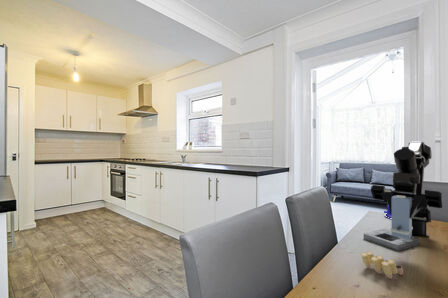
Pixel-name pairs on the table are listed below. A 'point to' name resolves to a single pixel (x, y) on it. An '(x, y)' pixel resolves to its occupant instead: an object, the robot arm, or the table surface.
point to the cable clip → (388, 212)
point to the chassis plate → (396, 242)
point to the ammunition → (381, 264)
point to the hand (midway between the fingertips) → (400, 216)
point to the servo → (401, 216)
